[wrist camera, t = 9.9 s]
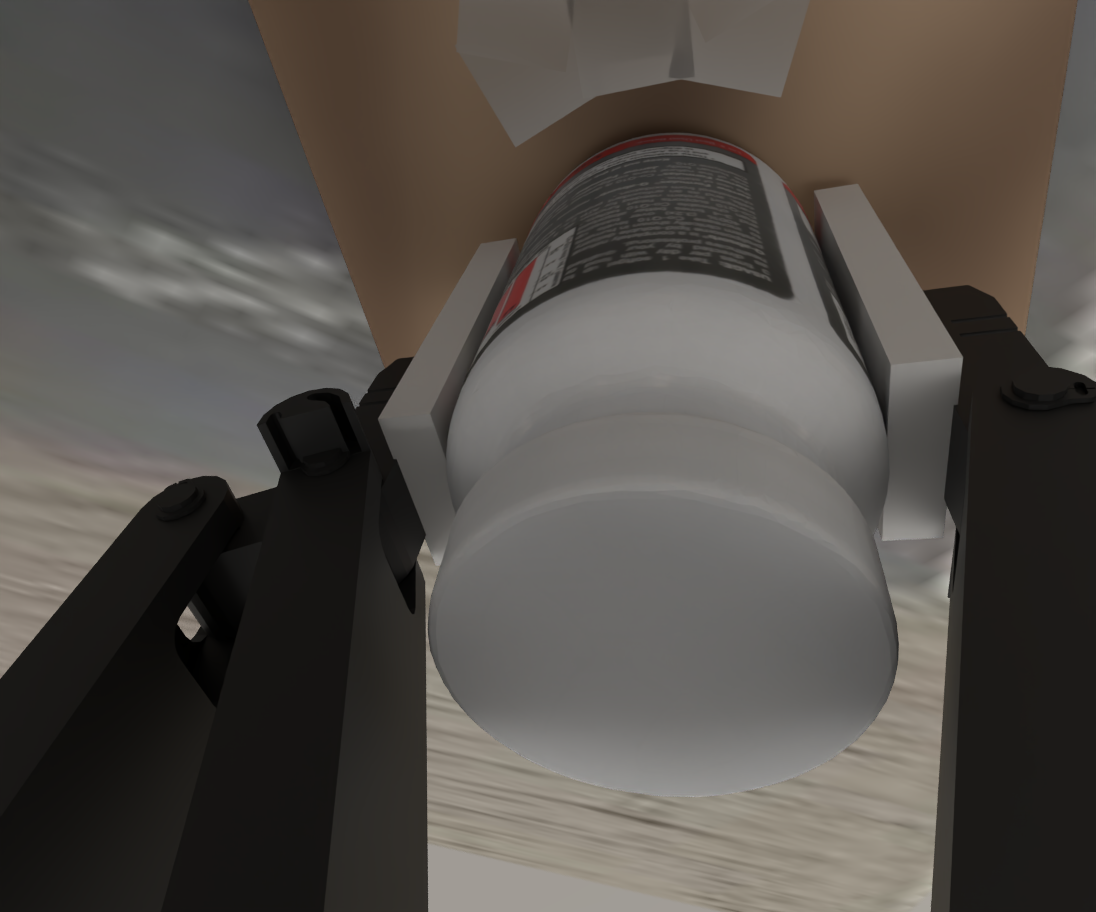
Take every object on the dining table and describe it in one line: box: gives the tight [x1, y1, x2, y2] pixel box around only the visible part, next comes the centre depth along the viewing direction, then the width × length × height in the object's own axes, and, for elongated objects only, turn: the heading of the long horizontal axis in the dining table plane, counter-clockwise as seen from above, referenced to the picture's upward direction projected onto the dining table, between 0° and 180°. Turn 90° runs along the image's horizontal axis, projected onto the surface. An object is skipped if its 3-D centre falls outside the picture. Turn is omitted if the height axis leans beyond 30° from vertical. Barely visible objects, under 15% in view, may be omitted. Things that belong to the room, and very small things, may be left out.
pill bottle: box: [428, 133, 899, 797], centre depth 12 cm, size 6×6×10 cm
